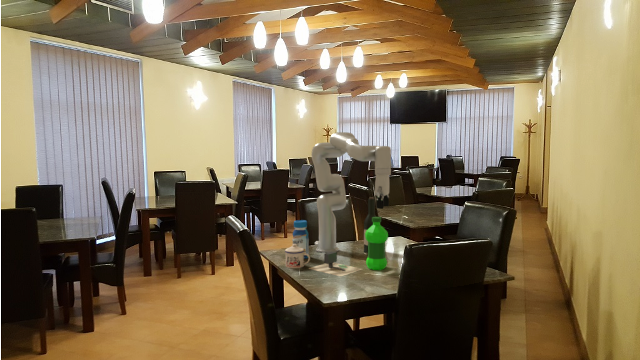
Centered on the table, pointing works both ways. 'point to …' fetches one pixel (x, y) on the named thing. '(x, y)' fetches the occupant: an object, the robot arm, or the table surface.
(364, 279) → the table surface
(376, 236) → the plastic bottle
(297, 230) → the beverage bottle
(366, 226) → the wine bottle
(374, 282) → the table surface
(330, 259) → the sledge mallet
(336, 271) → the board
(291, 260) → the teacup with lid
